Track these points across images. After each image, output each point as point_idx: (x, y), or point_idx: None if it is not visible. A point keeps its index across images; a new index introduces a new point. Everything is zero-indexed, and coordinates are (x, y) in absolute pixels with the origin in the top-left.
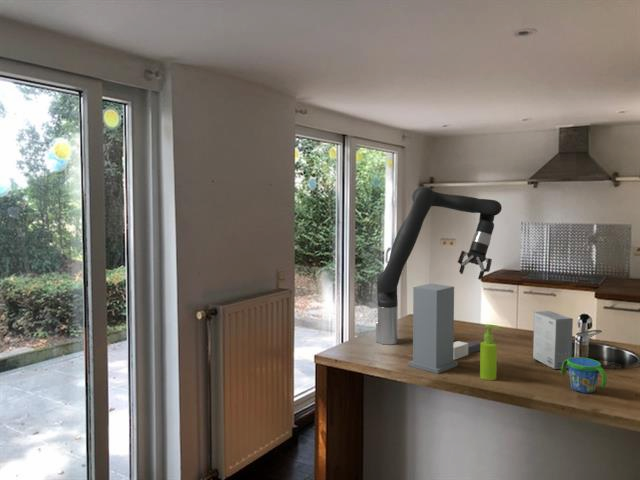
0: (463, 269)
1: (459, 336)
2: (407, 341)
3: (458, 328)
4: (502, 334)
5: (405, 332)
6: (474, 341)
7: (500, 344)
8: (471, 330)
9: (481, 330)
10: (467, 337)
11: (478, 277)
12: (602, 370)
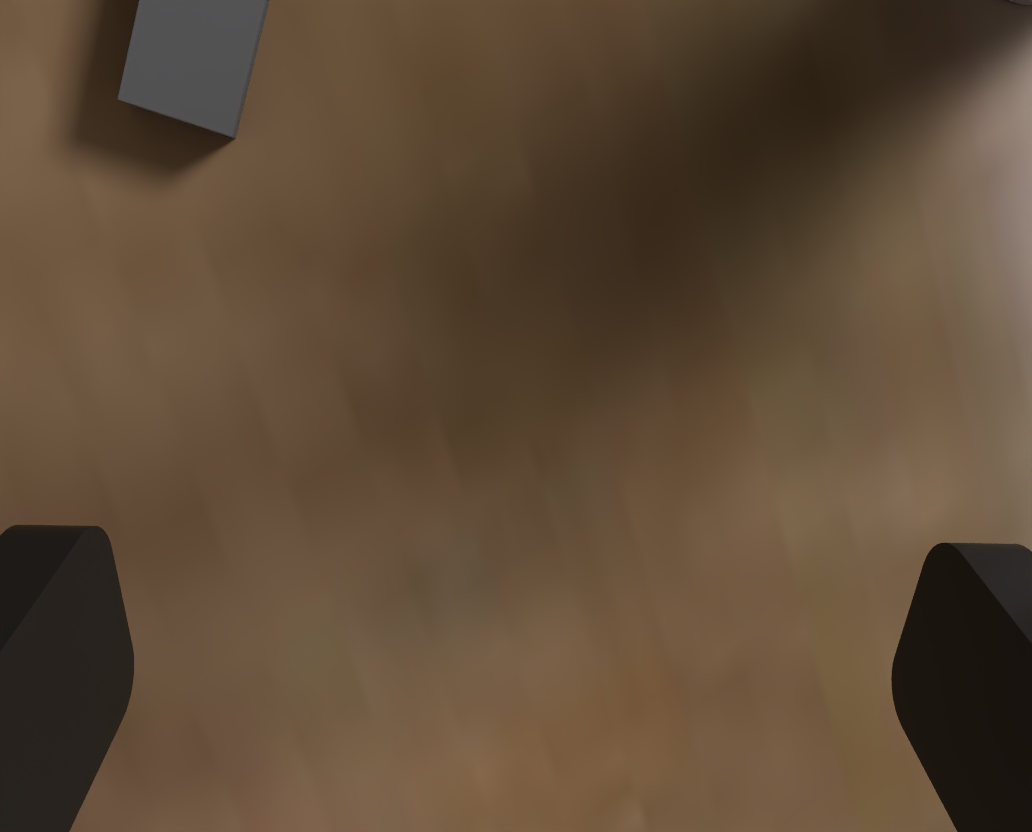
0: (1017, 814)
1: (501, 478)
2: (885, 27)
3: (591, 733)
4: (150, 787)
5: (967, 334)
6: (217, 121)
7: (21, 419)
8: (466, 741)
9: (383, 796)
10: (421, 487)
11: (63, 547)
12: None
